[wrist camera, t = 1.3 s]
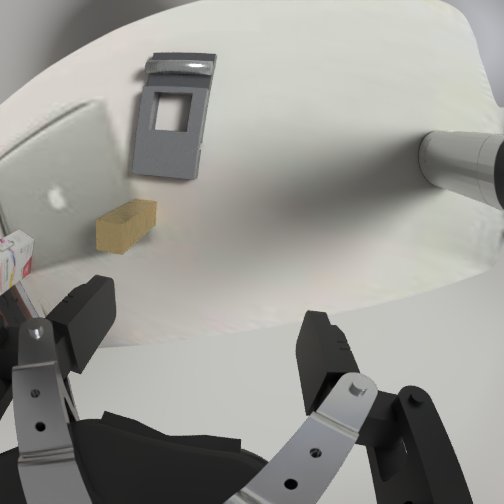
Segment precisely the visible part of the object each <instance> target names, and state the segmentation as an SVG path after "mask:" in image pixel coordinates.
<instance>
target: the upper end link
mask: <svg viewBox="0 0 504 504" xmlns="http://www.w3.org/2000/svg"><path fill="white" fill-rule="evenodd" d="M208 92H209V90H208V89H207V88H194V87H174V86H144V87H143V92H142V98H141V104H140V110H139V117H138V124H137V132H136V140H135V149H134V159H133V170H132V174H143V175H153V176H163V177H172V178H181V179H190V180H194V179H196V178H197V176H198V168H199V160H200V153H201V150H199V148H200V141H201V135H202V128H203V122H204V116H205V109H206V104H207V98H208ZM157 93H176V94H193V96H192V101H191V107H190V113H189V120H188V126H187V132H180V131H167V130H152V124H153V117H154V111H155V104H156V98H157Z"/></svg>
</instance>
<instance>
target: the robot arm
mask: <svg viewBox="0 0 504 504" xmlns="http://www.w3.org/2000/svg"><path fill="white" fill-rule="evenodd" d="M419 164H420V168H421V171H422V173H423V175H424V176H425V178H426V179H427V180H428V181H429V182H430V183H431V184H433V185H435V186H438V187H441V188H444V189H447V190H450V191H452V192H455V193H458V194H461V195H464V196H466V197H469V198H472V199H474V200H477V201H479V202H482V203H485V204H487V205H490V206H492V207H495V208H497V209H499V210H502V211H504V135H500V134H489V133H476V132H460V131H433V132H431V133H429V134H428V135H426V137H425V138H424V139H423V141H422V143H421V146H420V149H419ZM115 317H116V302H115V289H114V281H113V279H112V278H109V277H104V276H99V275H95V276H94V277H93V278H92V279H91V280H90V281H89V282H88V283H87V284H82V285H80V286H78V287H76V288H74V289H73V290H72V291H71V292H70V293H69V294H68V296H66V297H65V298H64V299H63V300H62V302H60V303H59V304H58V305H57V306H56V307H55V308H54V309H53V310H52V311H51V312H50V313H49V314H48V315H47V316H46V317H45V318H40V317H37V318H31V319H29V320H27V321H25V322H24V323H23V324H22V325H21V326H20V328H19V327H10V326H6V323H5V320H4V317H3V316H2V315H1V314H0V420H1V418H2V416H3V414H4V413H5V411H6V409H7V407H8V406H9V404H10V402H11V401H12V399H13V406H14V417H15V425H16V433H17V440H18V447H16V448H13V449H11V450H8V451H6V452H3V453H1V454H0V504H316V503H317V501H318V500H319V499H320V497H321V496H322V494H323V493H324V491H325V490H326V489H327V487H328V486H329V484H330V483H331V481H332V480H333V478H334V477H335V475H336V474H337V472H338V470H339V469H340V467H341V466H342V464H343V462H344V461H345V459H346V457H347V456H348V454H349V452H350V451H351V449H352V447H353V445H354V444H359V445H364V446H366V449H367V454H368V458H369V463H370V468H371V473H372V478H373V483H374V489H375V494H376V500H377V504H473V501H472V498H471V495H470V492H469V490H468V486H467V483H466V481H465V478H464V475H463V472H462V470H461V467H460V464H459V462H458V459H457V457H456V454H455V452H454V449H453V447H452V444H451V442H450V439H449V437H448V435H447V432H446V430H445V428H444V426H443V423H442V421H441V419H440V417H439V414H438V412H437V410H436V408H435V406H434V404H433V402H432V399H431V398H430V396H429V395H428V393H426V391H424V390H423V389H421V388H419V387H416V386H405V387H403V388H402V389H401V390H400V392H399V393H398V395H396V394H391V393H387V392H382V391H379V390H377V386H376V384H375V383H374V381H373V380H372V379H370V378H369V377H367V376H366V375H363V374H360V371H359V369H358V366H357V364H356V361H355V359H354V356H353V354H352V351H350V347H349V344H348V343H347V339H346V337H345V334H344V333H343V332H342V331H341V330H340V329H339V328H338V327H337V326H336V325H331V324H330V321H329V319H328V316H327V314H326V312H318V311H309V310H308V311H307V312H306V314H305V317H304V320H303V323H302V326H301V330H300V333H299V336H298V339H297V343H296V359H297V364H298V370H299V376H300V381H301V388H302V394H303V400H304V406H305V412H306V416H308V415H309V417H308V418H307V420H306V421H305V422H304V423H303V425H302V426H301V427H300V428H299V429H298V431H297V432H296V433H295V434H294V435H293V436H292V437H291V439H290V440H289V441H288V442H287V443H286V444H285V445H284V447H283V448H282V449H281V450H280V451H279V452H278V453H277V454H276V455H275V456H274V458H273V459H272V460H271V461H270V462H268V461H266V460H265V459H263V458H262V457H260V456H258V455H256V454H254V453H252V452H249V451H247V450H244V449H241V439H233V438H225V437H217V436H209V435H194V436H193V435H192V436H169V435H165V434H163V433H161V432H159V431H157V430H154V429H152V428H150V427H148V426H146V425H144V424H142V423H140V422H138V421H136V420H134V419H130V418H126V417H123V416H120V415H116V414H113V413H110V412H107V411H104V414H103V416H102V418H101V419H85V420H80V419H79V416H78V413H77V410H76V406H75V402H74V398H73V394H72V391H71V386H70V381H69V378H68V374H69V372H70V371H73V372H76V373H79V374H81V373H82V371H83V370H84V368H85V366H86V365H87V363H88V362H89V360H90V359H91V357H92V355H93V354H94V352H95V351H96V349H97V348H98V346H99V345H100V343H101V341H102V340H103V338H104V337H105V335H106V334H107V332H108V331H109V329H110V328H111V326H112V325H113V323H114V321H115ZM403 442H404V443H403ZM404 445H405V446H404ZM405 448H406V449H405ZM406 451H407V452H406Z"/></svg>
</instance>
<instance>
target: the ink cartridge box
mask: <svg viewBox="0 0 504 504" xmlns="http://www.w3.org/2000/svg"><path fill="white" fill-rule="evenodd" d="M33 244H34V239H33V238H31V237H30V236H28V235H27V234H26V233H24V232H23V231H21V230H17V231H15V232H13V233H12V234H10V235H8V236H6V237H4V238H2V239H0V296H1V295H2V294H3V293H4V292H6V291H7V290H8V289H9V288H11V287H12V286H13V285H14V284H16V283H17V282H18V281H20V280H21V279H22V278H24V277H25V276H26V275H28V274H29V273H30V266H31V257H32V250H33Z"/></svg>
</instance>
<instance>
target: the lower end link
mask: <svg viewBox="0 0 504 504" xmlns="http://www.w3.org/2000/svg"><path fill="white" fill-rule="evenodd" d="M216 59H217V56H216V54H206V53H154V54H153V59H152V60H148V61H147V62H146V65H145V71H146V73H149V78H148V83H147V86H174V87H194V88H207V89H208V90H209V92H208V98H207V104H206V109H205V116H204V122H203V128H202V135H201V141H200V143H202V139H203V132H204V126H205V120H206V113H207V107H208V101H209V96H210V90H211V85H212V79H213V74H214V69H215V64H216ZM160 94H170V95H190V96H193V94H176V93H157V98H156V104H155V111H154V117H153V124H152V130H155V124H156V117H157V110H158V104H159V98H160Z"/></svg>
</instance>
